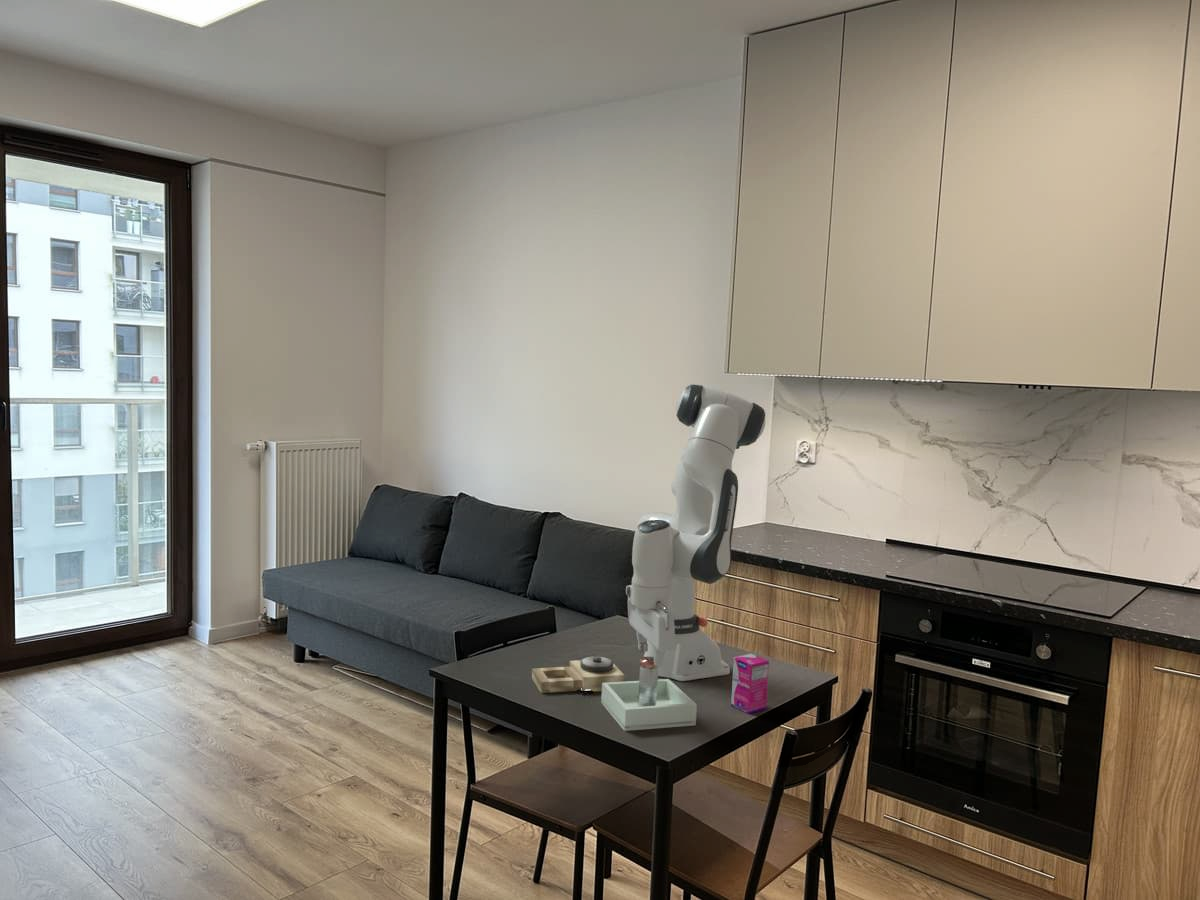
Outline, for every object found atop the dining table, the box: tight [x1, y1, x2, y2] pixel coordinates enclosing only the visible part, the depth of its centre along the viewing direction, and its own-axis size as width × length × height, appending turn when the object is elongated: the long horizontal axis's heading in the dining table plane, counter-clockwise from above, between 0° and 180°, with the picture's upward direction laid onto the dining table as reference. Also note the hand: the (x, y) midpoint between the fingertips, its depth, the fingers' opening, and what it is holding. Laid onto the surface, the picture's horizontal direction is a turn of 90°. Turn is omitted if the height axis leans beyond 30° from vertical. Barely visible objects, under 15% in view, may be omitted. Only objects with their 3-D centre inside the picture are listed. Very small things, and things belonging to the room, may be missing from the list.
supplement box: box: [730, 653, 770, 715], centre depth 196 cm, size 6×6×12 cm
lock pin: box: [638, 656, 659, 707], centre depth 190 cm, size 4×4×11 cm
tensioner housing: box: [531, 656, 626, 694], centre depth 207 cm, size 20×12×6 cm, turn 107°
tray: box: [600, 678, 698, 732], centre depth 190 cm, size 16×16×4 cm
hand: (650, 657), depth 190 cm, fingers open, 8 cm apart
